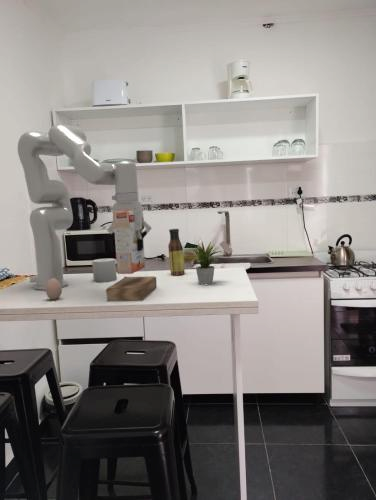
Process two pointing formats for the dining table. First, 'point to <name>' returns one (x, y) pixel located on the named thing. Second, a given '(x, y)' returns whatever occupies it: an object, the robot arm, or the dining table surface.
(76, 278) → the dining table surface
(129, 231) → the cracker box
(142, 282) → the riser
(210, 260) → the house plant
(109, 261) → the grey mug
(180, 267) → the sauce bottle
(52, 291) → the egg
